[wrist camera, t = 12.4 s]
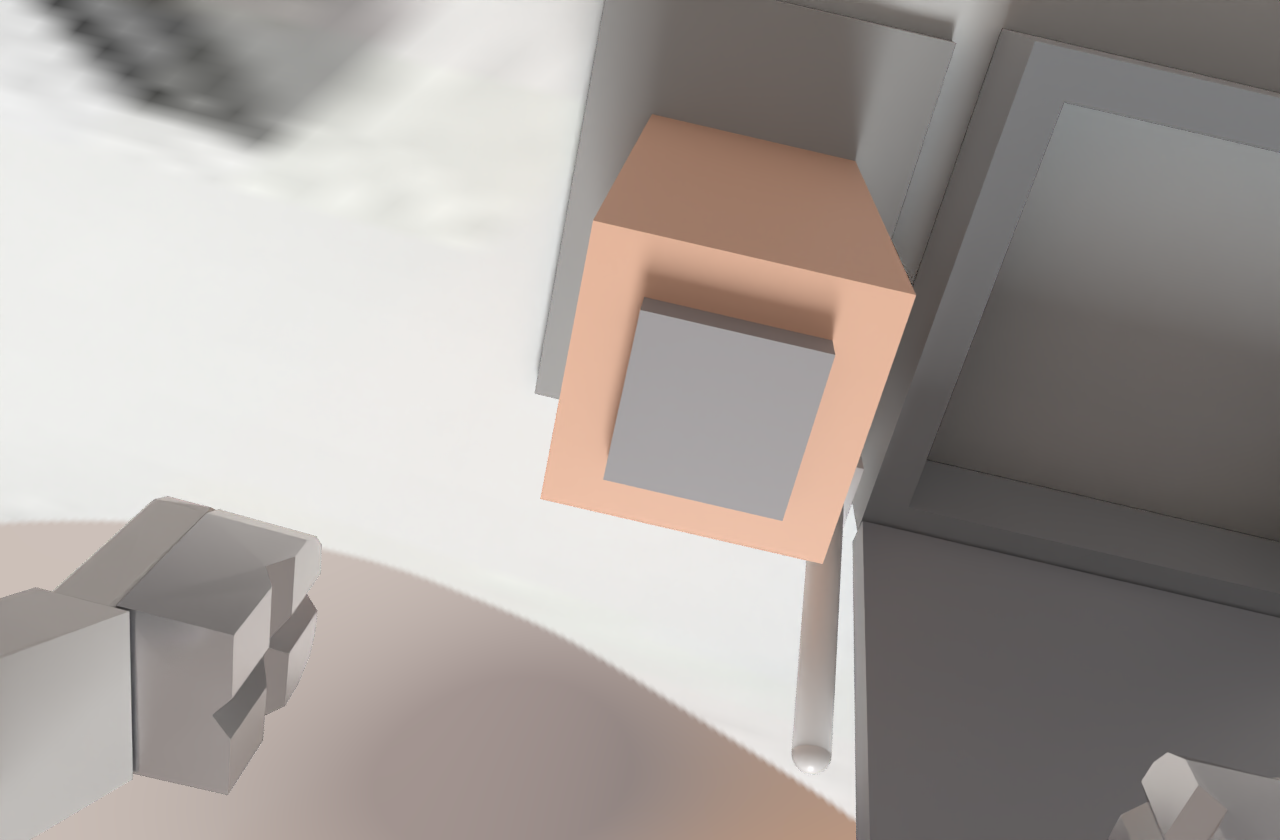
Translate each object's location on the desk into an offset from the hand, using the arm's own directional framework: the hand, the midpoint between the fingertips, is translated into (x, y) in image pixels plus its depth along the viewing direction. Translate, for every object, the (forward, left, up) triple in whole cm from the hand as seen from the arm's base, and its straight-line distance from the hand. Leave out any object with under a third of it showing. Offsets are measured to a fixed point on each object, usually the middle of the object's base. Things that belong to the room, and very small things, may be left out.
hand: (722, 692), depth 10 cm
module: (0, 0, -17) cm, 17 cm away
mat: (0, 0, -18) cm, 18 cm away
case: (-11, +2, -18) cm, 21 cm away
